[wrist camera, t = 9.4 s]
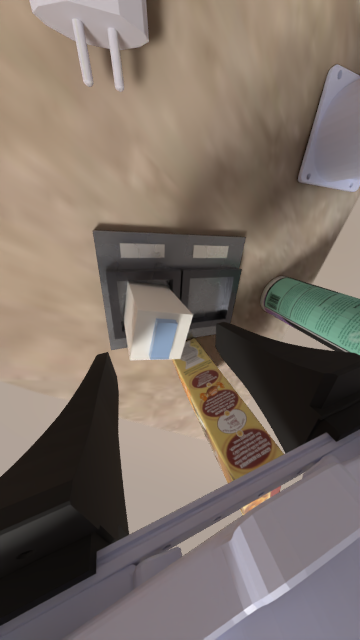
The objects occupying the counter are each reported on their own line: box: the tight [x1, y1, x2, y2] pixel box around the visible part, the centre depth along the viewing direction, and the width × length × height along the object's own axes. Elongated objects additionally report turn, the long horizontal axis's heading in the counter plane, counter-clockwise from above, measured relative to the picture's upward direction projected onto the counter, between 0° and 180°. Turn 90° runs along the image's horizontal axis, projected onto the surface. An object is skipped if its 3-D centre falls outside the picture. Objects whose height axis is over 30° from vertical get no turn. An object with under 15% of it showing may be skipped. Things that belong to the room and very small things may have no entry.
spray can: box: [260, 276, 360, 355], centre depth 18 cm, size 6×6×20 cm
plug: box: [123, 281, 193, 360], centre depth 16 cm, size 4×4×8 cm
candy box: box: [172, 338, 284, 515], centre depth 20 cm, size 9×4×15 cm, turn 15°
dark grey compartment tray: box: [93, 230, 246, 350], centre depth 19 cm, size 15×12×2 cm
